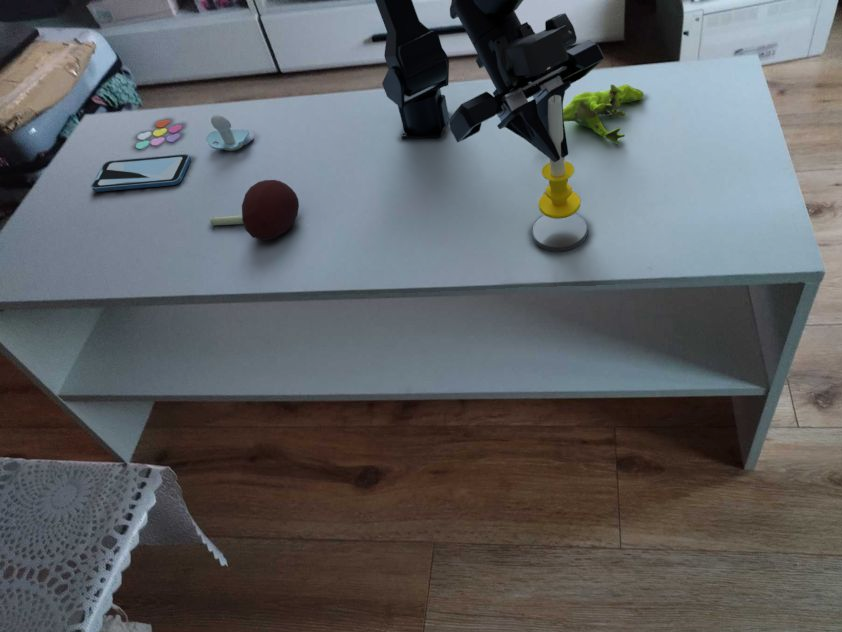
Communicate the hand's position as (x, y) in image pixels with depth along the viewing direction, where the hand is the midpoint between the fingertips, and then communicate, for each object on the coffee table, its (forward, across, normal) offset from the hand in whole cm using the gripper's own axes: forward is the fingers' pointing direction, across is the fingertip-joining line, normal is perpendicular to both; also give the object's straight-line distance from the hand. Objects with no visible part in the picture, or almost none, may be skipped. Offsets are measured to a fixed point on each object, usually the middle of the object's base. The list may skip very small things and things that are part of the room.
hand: (561, 158), depth 81 cm
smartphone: (-32, -41, +50) cm, 72 cm away
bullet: (-18, -36, +35) cm, 53 cm away
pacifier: (-30, -26, +48) cm, 62 cm away
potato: (-14, -30, +31) cm, 45 cm away
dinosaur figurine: (-3, +18, +21) cm, 28 cm away
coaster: (+8, 0, +9) cm, 12 cm away
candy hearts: (-39, -35, +58) cm, 78 cm away
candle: (+5, 0, +7) cm, 8 cm away
